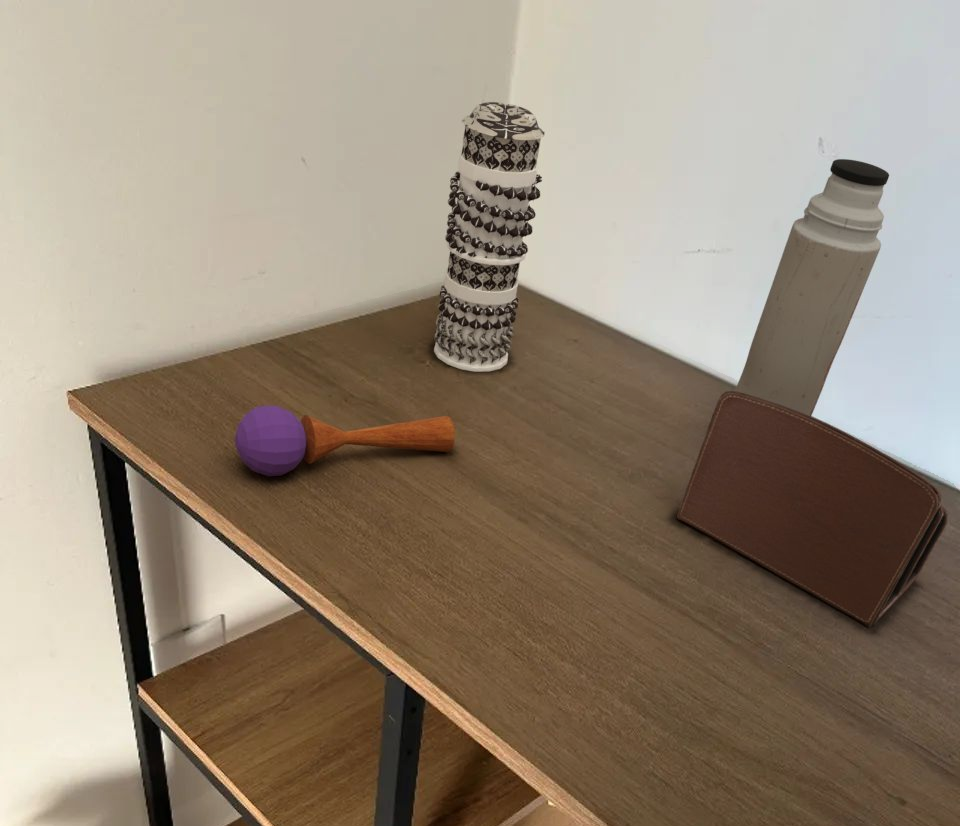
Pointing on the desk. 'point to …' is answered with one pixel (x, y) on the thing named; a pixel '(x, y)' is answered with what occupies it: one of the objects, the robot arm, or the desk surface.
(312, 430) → the kendama
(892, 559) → the letter holder
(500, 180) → the white patterned cylinder
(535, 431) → the desk surface
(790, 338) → the thermos bottle
